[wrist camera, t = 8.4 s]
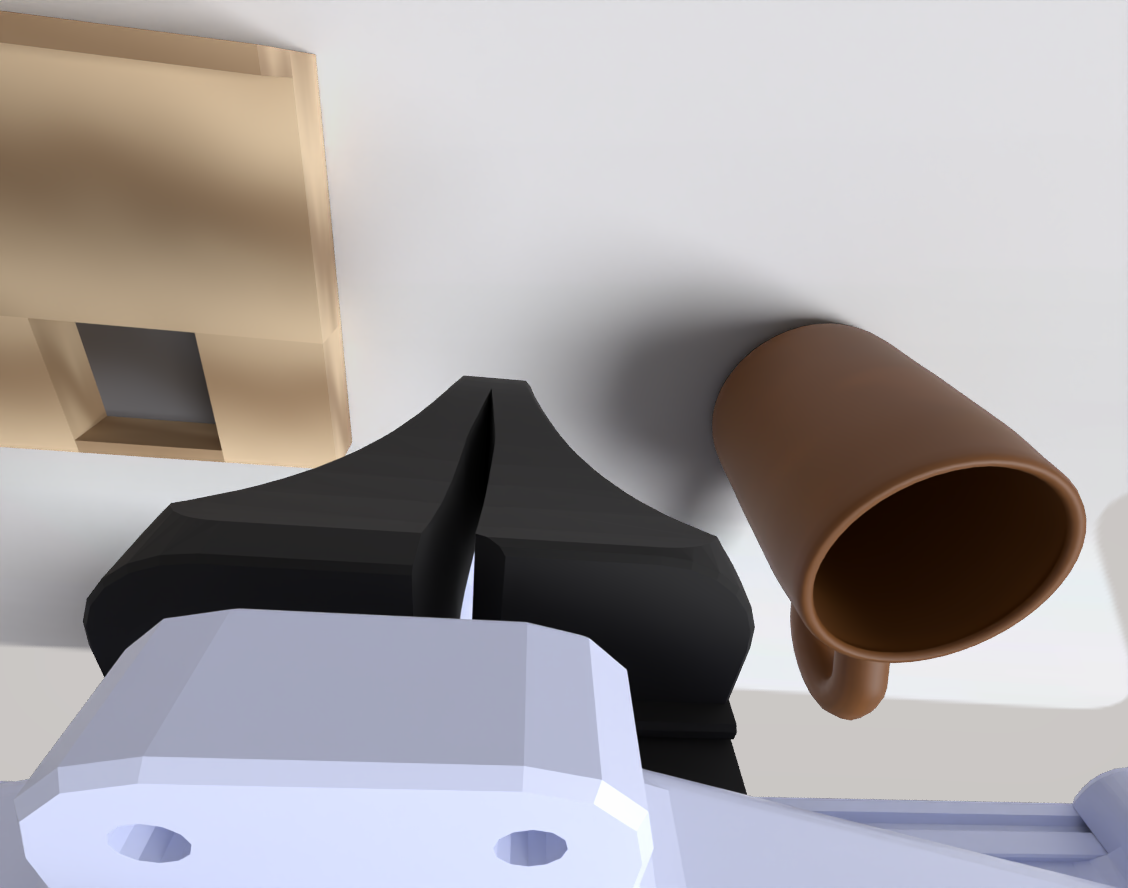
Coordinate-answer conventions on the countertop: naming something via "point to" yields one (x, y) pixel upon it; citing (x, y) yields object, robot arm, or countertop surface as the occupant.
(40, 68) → the platform
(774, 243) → the countertop surface
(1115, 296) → the countertop surface
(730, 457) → the mug
